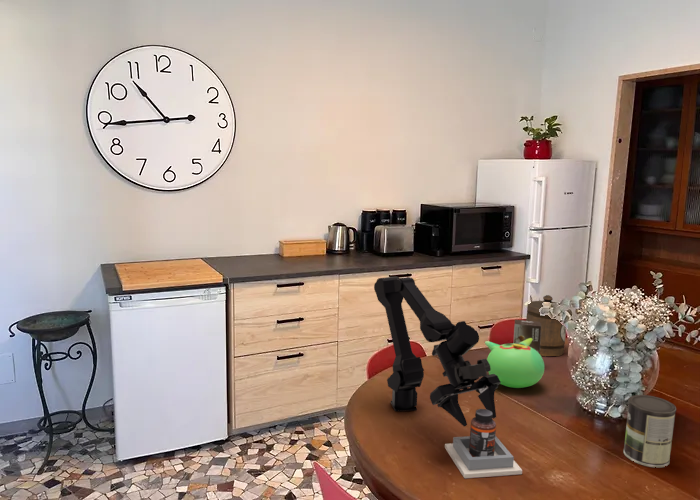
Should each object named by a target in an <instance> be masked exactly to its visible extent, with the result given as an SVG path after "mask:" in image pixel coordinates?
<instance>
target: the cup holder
mask: <svg viewBox="0 0 700 500" xmlns="http://www.w3.org/2000/svg"><path fill="white" fill-rule="evenodd" d="M469 444H470V435H468V436H453V438H452V443H445V444H444V448H445V450H446V452H447V453H448V455H449V456H450V458H451V460H452V461H453V463H454V464H455V466H456V468H457V470H459V472H460V474H461V475H462V477H463V479H473V478H486V477H487V478H488V477H489V478H490V477H502V476H515V475H522V474H523V469H522V468H521V467H520V466H519V464H518V463H517V461H515V460H514V459H515V458H514V457H515V456H514V455H513V454H511V452H510V450H508V448H507V447H506V446H505V445H504V444H503V443H502V442H501V440H500V439H499V438H498V437H497V435H495V448H494V456H482V457H472V456H471V455H470V453H469Z"/></svg>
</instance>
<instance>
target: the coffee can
mask: <svg viewBox="0 0 700 500" xmlns="http://www.w3.org/2000/svg"><path fill="white" fill-rule="evenodd" d="M627 402H628V407H627V416H626V417H627V418H626V426H625V427H626V428H625V437H624V443H623V444H624V446H623V449H622V450H623V454H624V456H625V457H626V458H627V459H628V460H630V461H632V462H633V461H634V462H633V463H635V464H638V465H641V466H643V467H647V468H655V467H656V469H657V468H659V469H661V468H666V467H667V466H668V465H670V461H671V459H670V458H671V451H672V441H673V434H674V427H675V418H676V412H677V407H676V405H675V404H674V403H672V402H670V401H669V400H666V399H664V398H661V397H657V396H653V395H648V394H635V395H631V396H630V397H628V401H627ZM665 466H666V467H665Z"/></svg>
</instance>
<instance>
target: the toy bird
mask: <svg viewBox="0 0 700 500" xmlns="http://www.w3.org/2000/svg"><path fill="white" fill-rule="evenodd" d="M532 340H533V339H532V338H529V339H526V340H524V341H522V342H520V343H518V344H517V343H514V342H513V343H512V342H511V343H504V344H498V343H495V342H492V341H488V340H486V341H485V342H484V344H485V346H486V347H487V348H488V349H489V350H490V352H489V354H488V356H487V358H486V359H487V361H488V363H489V364H490V368H491V370H490V371H488V372H487V373H488V375H490V374H495V375H497V376H498V378H499V380H500V382H501V383H500V384H499V385H501V386H505V387H508V388H513V389H521V388H522V389H523V388H528V387H531V386H534V385H536V384H538V382H539V381H541V379H542V378H543V375H544V374H545V362H544V359H543V356H541V355H540V354H539V353H538V352H537V351H536V350H535V349H533V348H531V347H529V345H530V344H531V342H532Z"/></svg>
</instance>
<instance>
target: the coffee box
mask: <svg viewBox="0 0 700 500" xmlns="http://www.w3.org/2000/svg"><path fill="white" fill-rule="evenodd" d="M529 338H532V339H533V340H532V342H531V344H530V345H529V347H531V348H533V349H535V350H536V351H537V352H538V353H539V354H540V340H541V323H540V322H536V321H526V319H523V320H522V319H514V327H513V343H517V344H518V343H520V342H522V341H524V340H526V339H529Z"/></svg>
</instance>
